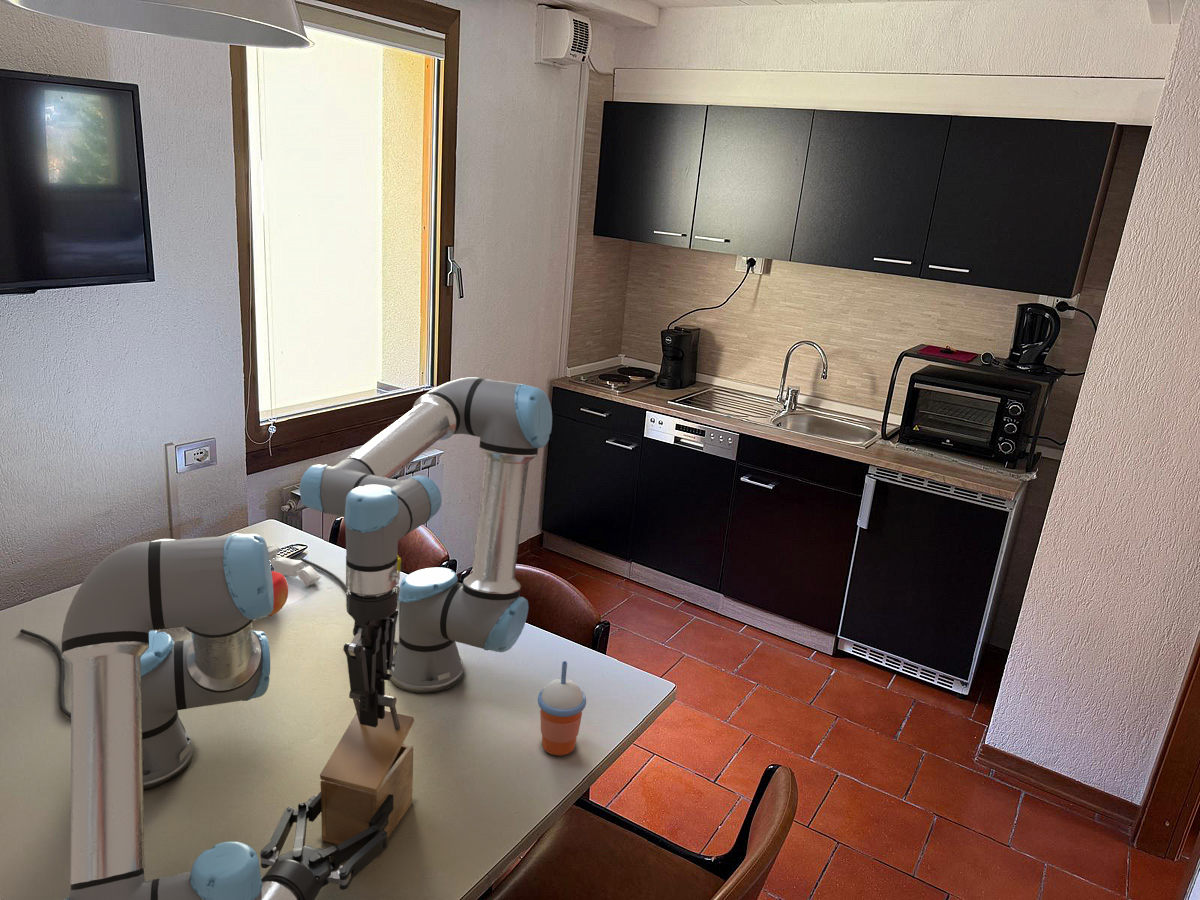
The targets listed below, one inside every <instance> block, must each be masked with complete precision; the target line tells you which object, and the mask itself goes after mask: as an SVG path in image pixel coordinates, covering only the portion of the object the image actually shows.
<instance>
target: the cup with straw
mask: <svg viewBox="0 0 1200 900" xmlns="http://www.w3.org/2000/svg"><path fill="white" fill-rule="evenodd" d="M567 669H568V662H567V661H566V660H565V661H562V662H561V677H560V678H557V679H554V680H552V681H549V683H547V684H546V685H545V687H543V688H542V689H541V690H540V692H539V693H538V695H537V705H538V707H539V708H540V710H539V715H540V717H539V718H540V733H541V739H542V740H541V741H542V743H541V744H542V748H543V750H544V751H546V752H547V753H548V754H550V755H553V756H565V755H568V754H571V753H572V752H573V751H574V750H575V747H576V742H577V737H578V735H579V731H580V727H581V722H582V717H583V711H584V710H585V708H586V705H587V697H586V695H585V693H584V692H583V691H582V689H581V687H580V686H579V685H578V684H577V683H576V682H574V681H573V680H571V679H567Z"/></svg>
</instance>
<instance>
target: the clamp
mask: <svg viewBox="0 0 1200 900" xmlns="http://www.w3.org/2000/svg"><path fill="white" fill-rule="evenodd" d="M267 548H268V552H269V560H271V562H270V564H271V565H272V566H273V568H274V571H275V572H278V573H281V574H282V575H283V576H288V577H292V578H296V577H298V578H299V579H300V580H301V582H303V584H304V585H305V587H309V586H312V585H314V584H316V583H318V582H319V580H320V579H321V578H322V577H321V575H320V574H319V573H318V572H317V570H315V569H314V568H313V566H312V565H310V564H307V563H305V562H303V561H301V560H299V559H292V558H289V557H285V556H278V553H279V551H280V549H281V547H279V546H278V545H277V544H272V545H267ZM273 558H274V559H273ZM272 559H273V560H272ZM305 566H306V567H305Z"/></svg>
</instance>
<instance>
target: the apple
mask: <svg viewBox="0 0 1200 900" xmlns="http://www.w3.org/2000/svg"><path fill="white" fill-rule="evenodd" d="M272 580H273V595H274V605H273V611H272V613H271V614H270V615H268V616H266V617H265V618H269V617H273V616H275V615H276V614H278V613H279V612H280V611H281V610H282V609H283V607H284V606H285V605H286V603H287V600H288V597H289V584H288V581H287V579H286V577H285V575H282V574H281V573H278V572H275V571H272Z"/></svg>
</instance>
